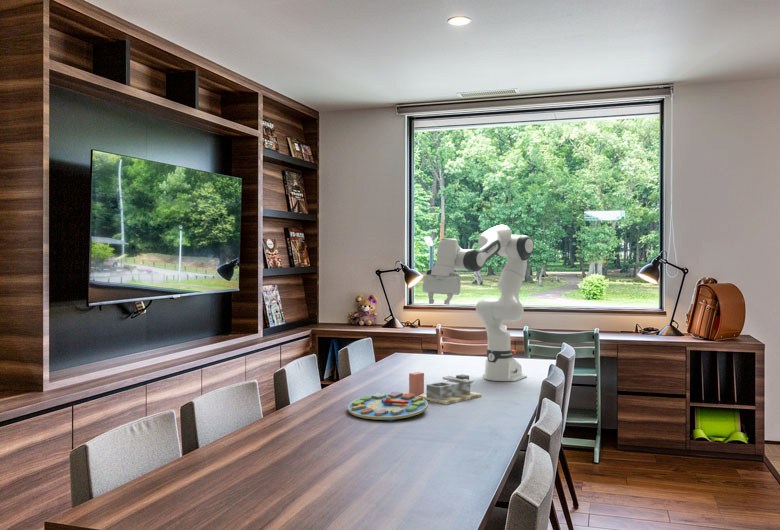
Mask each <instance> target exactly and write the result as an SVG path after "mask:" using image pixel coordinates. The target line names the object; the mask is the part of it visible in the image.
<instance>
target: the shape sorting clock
mask: <svg viewBox="0 0 780 530" xmlns="http://www.w3.org/2000/svg"><path fill="white" fill-rule="evenodd" d="M428 408H429V402H428V400H425V399H423V397H418V395H416V396H415V394H411V393H409V392H408V393H403V392H399V391H391V392H390V393H383V392H377V393H374V394H371V395H367V396H364V397H362V396H361V397H358V398H356V399H354V400H352V401H351V402H349V404H348V405H347V411H348V412H349V413H350V414H351V415H353V416H354V417H356V418H357V417H358V418H362V419H368V420H379V421H381V420H383V421H387V422H394V421H398V420H401V419H406V418H410V417H414V416H416V415H420V414H422V413H425V411H427V409H428Z"/></svg>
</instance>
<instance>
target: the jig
mask: <svg viewBox="0 0 780 530" xmlns="http://www.w3.org/2000/svg"><path fill="white" fill-rule="evenodd" d="M442 380H444V381H439V382H433V383H429V384H426V393H424V394H420V395H417V396H418V397H423V399H426V401H428V400H430V401H429V402H433V401H434V402H433V403H437V402H438V404H441V403H442V404H441V405H445V404H447V405H451V404H450V403H452V404H455V403H454V402H456V403H460V402H464V401H463V400H465V401H468V400H467V399H469V400H472V399H471V398H474V399H477V398H476V397H478V398H481V397H480V396H482V393H479V392H476V391H475V392H474V391H471V384H475V383H474V380H472V379H470V375H467V374H462V373H461V374H456V375H455V376H452V375H448V376H442ZM459 401H460V402H459Z"/></svg>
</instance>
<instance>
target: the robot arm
mask: <svg viewBox="0 0 780 530" xmlns="http://www.w3.org/2000/svg"><path fill="white" fill-rule="evenodd" d="M477 242H478V243H477V244H478V247H479V248H471V249H470V248H467V249H466V248H464V249H463V248H462V247H461V246H460V245H459V243H458V239H457V238H452V237H447V238H445V237H444V238H442V239H440V241H439V242H438V246H437V251H436V261H435V263H434V267H432V268H430V269H427V270H426V271H425V273H424V275H425V277H424V279H423V283H422V289H421V290H422V291H423V293H426V294H427V296H428V297H427V298H428V303H429V304H435V299H434V298H433V296H435V295H436V294H439V295H446V297H447V298H446V299H444V302H443V304H444V305H448V306H449V305H450V301H451V300H452V298H453V295H454V296H458V295H460V293H461V283H462V282H461V280H462V276H461V275H460V274H459V273H454V272H455V271H469V272H479V271H481V270H482V269H483V268H484V266H485V265H486V263H487V262H488V261H489V260H490V259H492V258H494V256H496V257H499V258H507V259H506V260H507V261H506V263H505V264H504V267H503V269H502V271H501V274H500V277H499V279H498V280H497V281H498V282H497V284H496V285H497V289H498V291H499V292H500V293H501V295H500V297H499V298H497V297H496V298H493V297H488V298H487V297H486V298H482V299H480V300H478V302H477V303H476V306H475V312H476V316H478V317H479V318H480V319H481V321H482V323H483V325H484V326H485V327H484V328H485V331H486V335H487V338H486V339H487V349H486V359H485V363H484V365H485V366H484V373H483V374H482V376H483V379H485V380H487V381H494V382H517V381H519V380H521V379H526V378H527V377H528V375H527V374H524V373H523V369H522V368H523V367H522V364H520V362H518V361H517V360H516V359H515V358H514V356H513V355H516V353H517V350H515V349H511V341H512V340H511V338H512V337H511V336H512V335H511V334H510V332H509V330H507V329H506V328H505V326H504V323H503V322H505V323H515V322H518V321H521V319H522V318H523V316H524V314H525V313H524V306H523V304H522V303H521V301H520V298H519V297H520V296H519V294H520V290H521V286H522V284H523V282H524V278H525V276H526V273H527V269H528V268H527V267H528V262H527V260H529V258H530V257H531V255H532V253H533V251H534V248H535V243H534V240H533V238H532V237H531V236H529V235H525V234H521V235H520V234H513V232H512V230H511V229H510V227H509V226H508V225H505V224H499V225H495V226H493V227H489V228H488V229H487V230H484V231H483V232H482V233H481V234H480V235H479V236H478V240H477ZM434 294H435V295H434Z"/></svg>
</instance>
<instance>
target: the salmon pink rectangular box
mask: <svg viewBox="0 0 780 530" xmlns="http://www.w3.org/2000/svg"><path fill="white" fill-rule="evenodd" d="M408 381H409V382H408V383H409V384H408V390H409V391H408V393H411V394H415V395H416V396H418V395H417V394H420V395H421V394H422V393H424V394H425V373H424V372H420V371H416V372H410V373H408Z"/></svg>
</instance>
